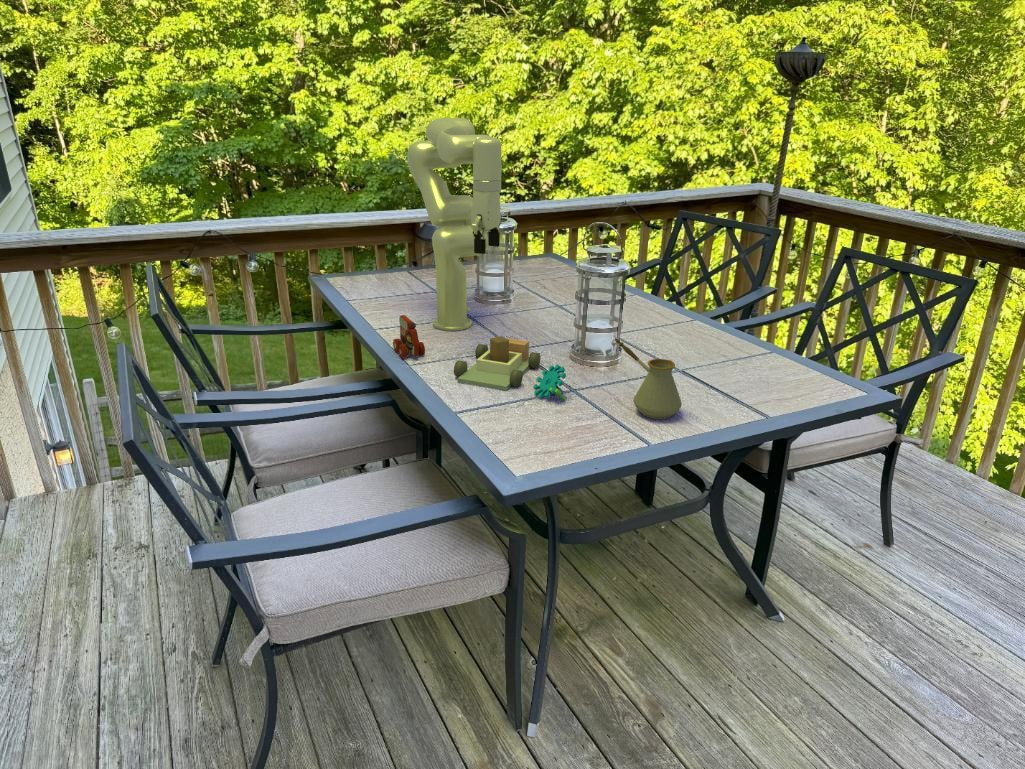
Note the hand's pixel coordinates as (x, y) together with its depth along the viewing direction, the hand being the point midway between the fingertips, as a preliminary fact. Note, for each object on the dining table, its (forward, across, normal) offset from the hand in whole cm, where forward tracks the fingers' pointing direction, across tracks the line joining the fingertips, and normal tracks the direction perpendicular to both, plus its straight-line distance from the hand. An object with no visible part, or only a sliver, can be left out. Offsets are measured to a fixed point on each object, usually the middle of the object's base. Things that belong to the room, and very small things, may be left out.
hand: (487, 249), depth 203 cm
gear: (+31, +22, +27) cm, 47 cm away
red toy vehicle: (+31, +10, -20) cm, 38 cm away
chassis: (+30, +13, +9) cm, 34 cm away
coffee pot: (+31, +19, +50) cm, 62 cm away
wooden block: (+29, +12, +9) cm, 33 cm away
